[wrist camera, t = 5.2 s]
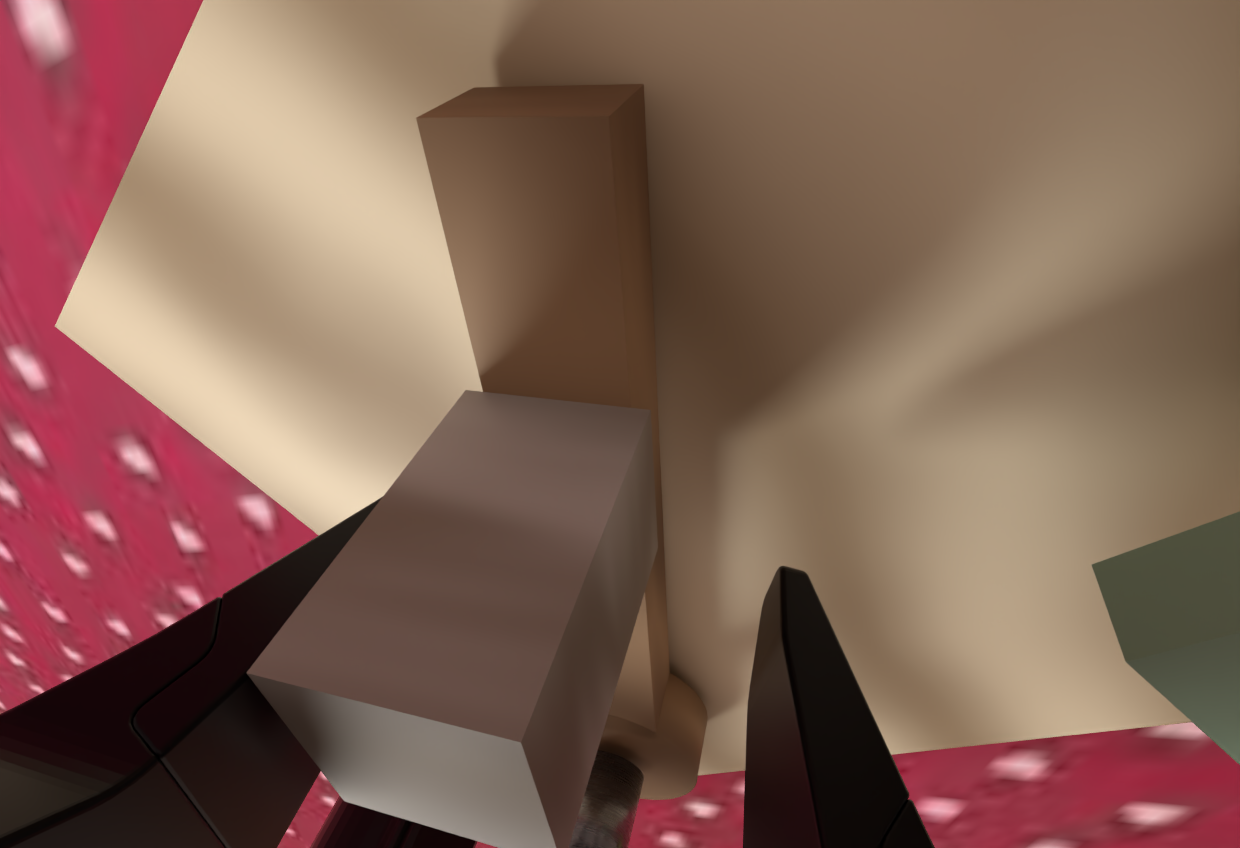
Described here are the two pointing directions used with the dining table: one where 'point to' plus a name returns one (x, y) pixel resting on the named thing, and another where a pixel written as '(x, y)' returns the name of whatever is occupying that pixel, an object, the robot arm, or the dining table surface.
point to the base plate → (751, 306)
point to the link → (513, 507)
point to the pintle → (608, 804)
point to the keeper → (1184, 622)
